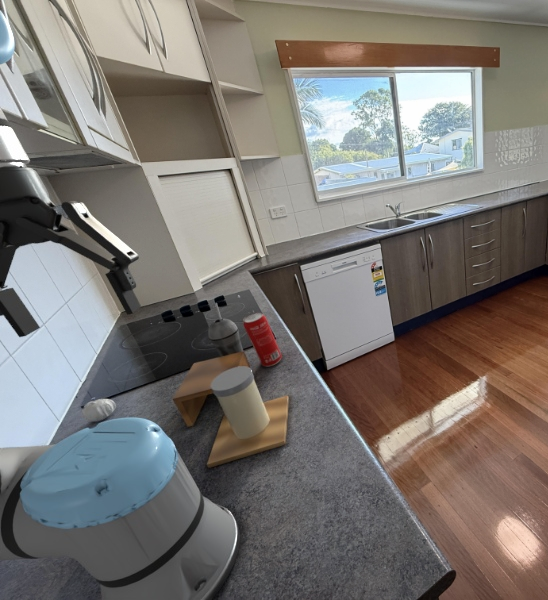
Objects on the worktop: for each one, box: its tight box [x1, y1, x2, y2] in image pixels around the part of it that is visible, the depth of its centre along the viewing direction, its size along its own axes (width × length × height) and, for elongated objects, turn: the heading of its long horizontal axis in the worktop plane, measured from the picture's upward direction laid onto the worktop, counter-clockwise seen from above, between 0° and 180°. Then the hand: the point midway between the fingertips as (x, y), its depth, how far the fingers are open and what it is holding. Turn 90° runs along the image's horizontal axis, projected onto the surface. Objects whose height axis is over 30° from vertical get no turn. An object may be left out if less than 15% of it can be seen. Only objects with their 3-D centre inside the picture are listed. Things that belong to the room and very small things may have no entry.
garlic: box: [81, 398, 117, 422], centre depth 75 cm, size 6×5×5 cm
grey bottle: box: [207, 302, 244, 357], centre depth 84 cm, size 7×7×20 cm
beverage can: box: [242, 311, 283, 368], centre depth 86 cm, size 6×6×15 cm
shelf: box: [172, 350, 251, 428], centre depth 75 cm, size 14×12×8 cm
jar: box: [211, 366, 270, 439], centre depth 63 cm, size 7×7×12 cm
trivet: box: [206, 395, 290, 469], centre depth 66 cm, size 14×14×1 cm
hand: (84, 321), depth 47 cm, fingers open, 13 cm apart
